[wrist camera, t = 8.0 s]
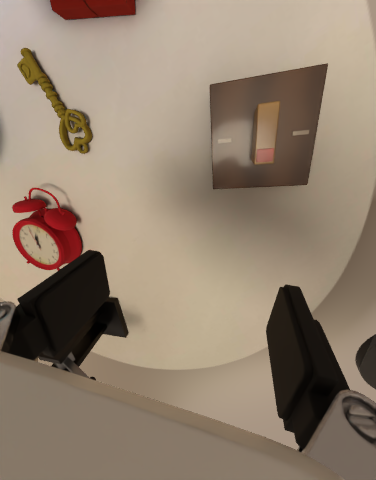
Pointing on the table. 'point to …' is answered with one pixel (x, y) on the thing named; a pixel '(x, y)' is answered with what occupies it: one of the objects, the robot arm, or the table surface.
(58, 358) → the black handle mount
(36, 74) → the key
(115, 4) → the toy robot
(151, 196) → the table surface
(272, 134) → the thumbturn
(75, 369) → the door lever
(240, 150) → the plate
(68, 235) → the alarm clock
